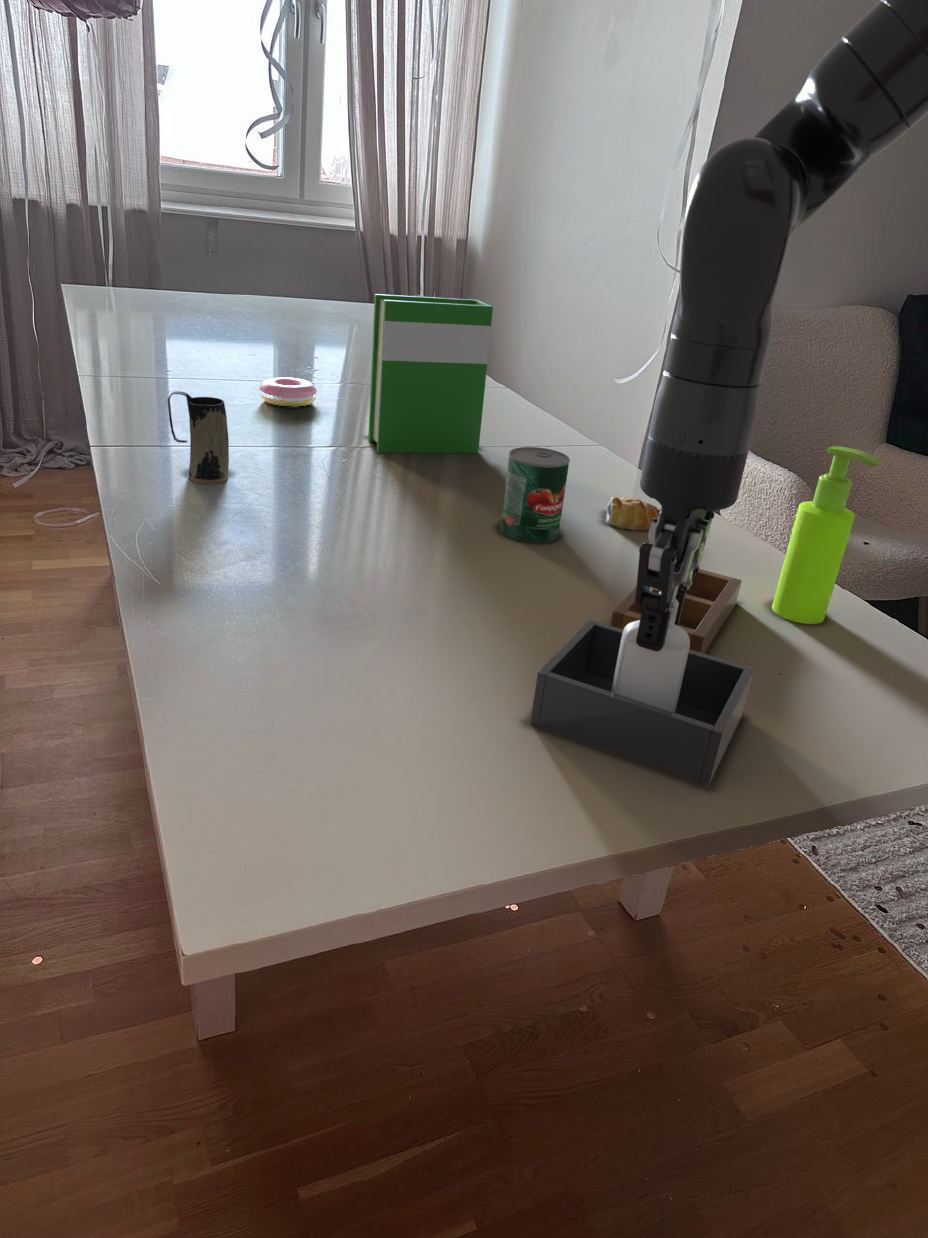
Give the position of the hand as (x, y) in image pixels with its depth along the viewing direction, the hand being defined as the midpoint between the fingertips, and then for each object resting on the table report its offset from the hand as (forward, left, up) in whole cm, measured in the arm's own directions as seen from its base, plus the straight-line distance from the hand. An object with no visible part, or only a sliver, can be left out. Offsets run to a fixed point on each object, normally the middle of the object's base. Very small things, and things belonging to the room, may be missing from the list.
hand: (657, 636), depth 75 cm
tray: (+3, -23, -9) cm, 25 cm away
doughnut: (+94, -71, -9) cm, 118 cm away
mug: (+74, -26, -9) cm, 79 cm away
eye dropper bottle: (0, 0, -7) cm, 7 cm away
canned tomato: (+27, -37, -9) cm, 47 cm away
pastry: (+17, -51, -9) cm, 55 cm away
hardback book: (+59, -64, -9) cm, 88 cm away
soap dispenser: (-9, -34, -9) cm, 36 cm away
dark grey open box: (0, 0, -9) cm, 9 cm away
